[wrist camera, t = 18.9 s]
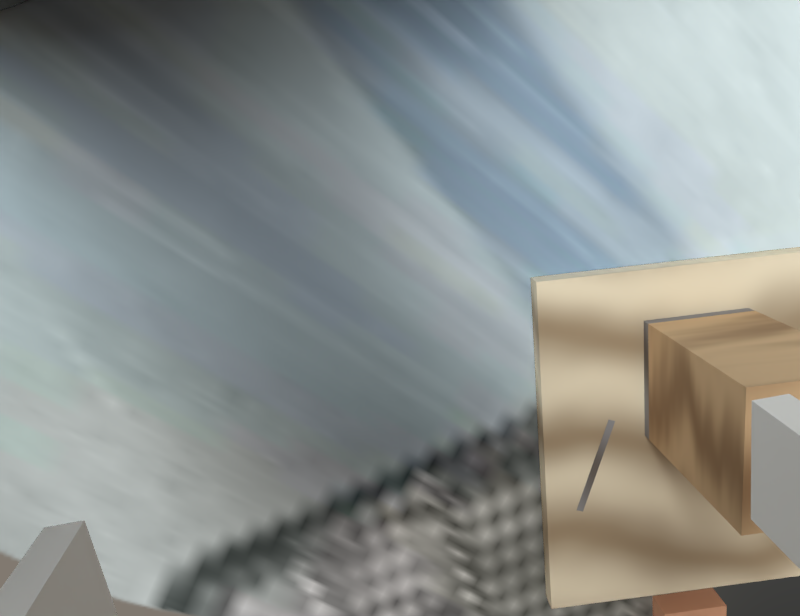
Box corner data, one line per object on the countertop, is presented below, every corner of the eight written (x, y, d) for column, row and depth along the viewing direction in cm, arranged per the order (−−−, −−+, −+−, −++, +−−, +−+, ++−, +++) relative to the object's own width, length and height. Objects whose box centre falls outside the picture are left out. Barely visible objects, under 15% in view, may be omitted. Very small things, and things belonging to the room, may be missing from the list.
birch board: (530, 277, 37) (536, 282, 36) (842, 242, 38) (858, 245, 37) (546, 596, 43) (551, 609, 41) (817, 559, 43) (831, 571, 42)
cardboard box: (643, 320, 37) (746, 387, 27) (748, 307, 37) (886, 369, 28) (644, 435, 39) (741, 535, 29) (744, 422, 39) (873, 517, 29)
